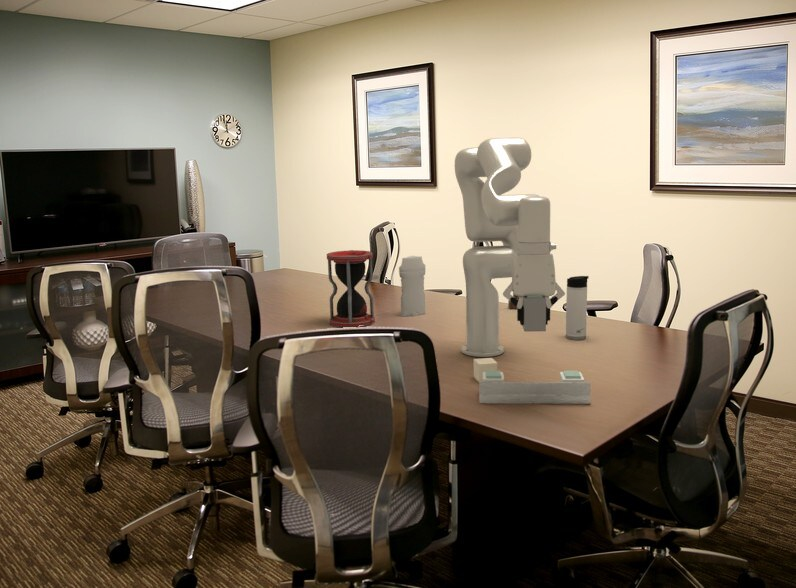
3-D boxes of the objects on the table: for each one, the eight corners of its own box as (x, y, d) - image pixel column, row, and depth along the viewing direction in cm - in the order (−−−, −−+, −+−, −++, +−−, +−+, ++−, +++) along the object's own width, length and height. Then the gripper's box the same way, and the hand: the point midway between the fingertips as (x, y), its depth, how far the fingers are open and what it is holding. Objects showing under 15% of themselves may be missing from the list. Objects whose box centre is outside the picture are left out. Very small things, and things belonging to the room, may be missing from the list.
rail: (479, 400, 176) (479, 380, 175) (588, 400, 174) (589, 380, 173) (479, 403, 174) (479, 383, 173) (590, 403, 172) (590, 383, 171)
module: (521, 325, 180) (521, 291, 179) (542, 324, 180) (542, 290, 178) (524, 331, 173) (524, 296, 172) (545, 331, 173) (546, 296, 171)
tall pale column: (402, 317, 265) (401, 257, 261) (398, 315, 269) (396, 256, 265) (428, 314, 269) (427, 255, 265) (423, 312, 273) (422, 253, 269)
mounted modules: (482, 391, 183) (482, 369, 182) (579, 391, 181) (580, 369, 180) (483, 399, 177) (483, 377, 176) (583, 399, 175) (584, 377, 174)
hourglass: (373, 327, 251) (371, 255, 246) (327, 328, 252) (323, 257, 247) (376, 317, 267) (373, 249, 262) (332, 318, 267) (329, 250, 262)
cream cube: (473, 377, 195) (473, 359, 194) (491, 375, 196) (491, 357, 195) (478, 382, 190) (478, 364, 189) (497, 381, 191) (497, 362, 190)
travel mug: (583, 341, 227) (584, 278, 223) (562, 338, 230) (564, 276, 226) (589, 336, 232) (591, 274, 228) (569, 334, 235) (571, 273, 232)
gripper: (567, 246, 176) (566, 320, 179) (496, 247, 177) (497, 320, 181) (572, 250, 169) (571, 326, 172) (498, 251, 170) (499, 327, 173)
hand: (533, 323), depth 176 cm, fingers closed on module, 5 cm apart
